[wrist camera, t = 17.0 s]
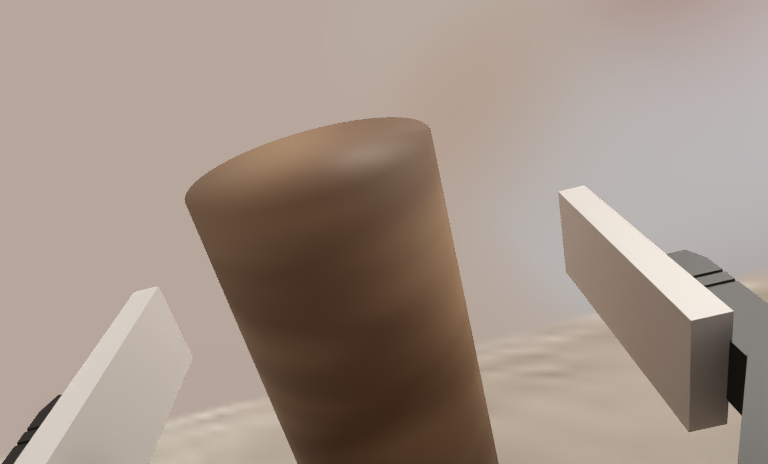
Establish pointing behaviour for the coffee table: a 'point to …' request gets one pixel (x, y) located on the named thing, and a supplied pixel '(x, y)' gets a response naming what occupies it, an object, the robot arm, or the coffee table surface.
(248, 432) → the coffee table surface
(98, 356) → the robot arm
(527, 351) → the coffee table surface
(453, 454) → the walnut cylinder
